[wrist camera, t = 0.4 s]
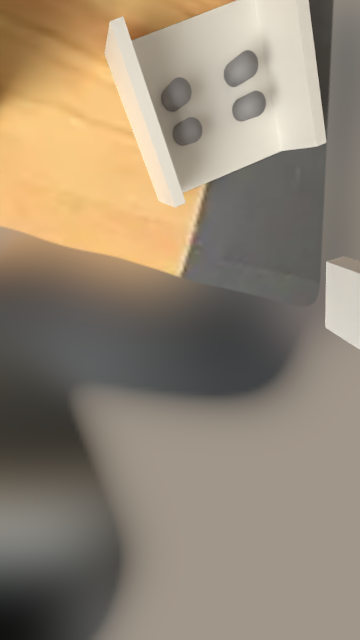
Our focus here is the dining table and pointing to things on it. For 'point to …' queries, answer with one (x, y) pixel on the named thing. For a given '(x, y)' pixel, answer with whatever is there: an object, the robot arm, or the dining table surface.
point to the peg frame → (218, 91)
